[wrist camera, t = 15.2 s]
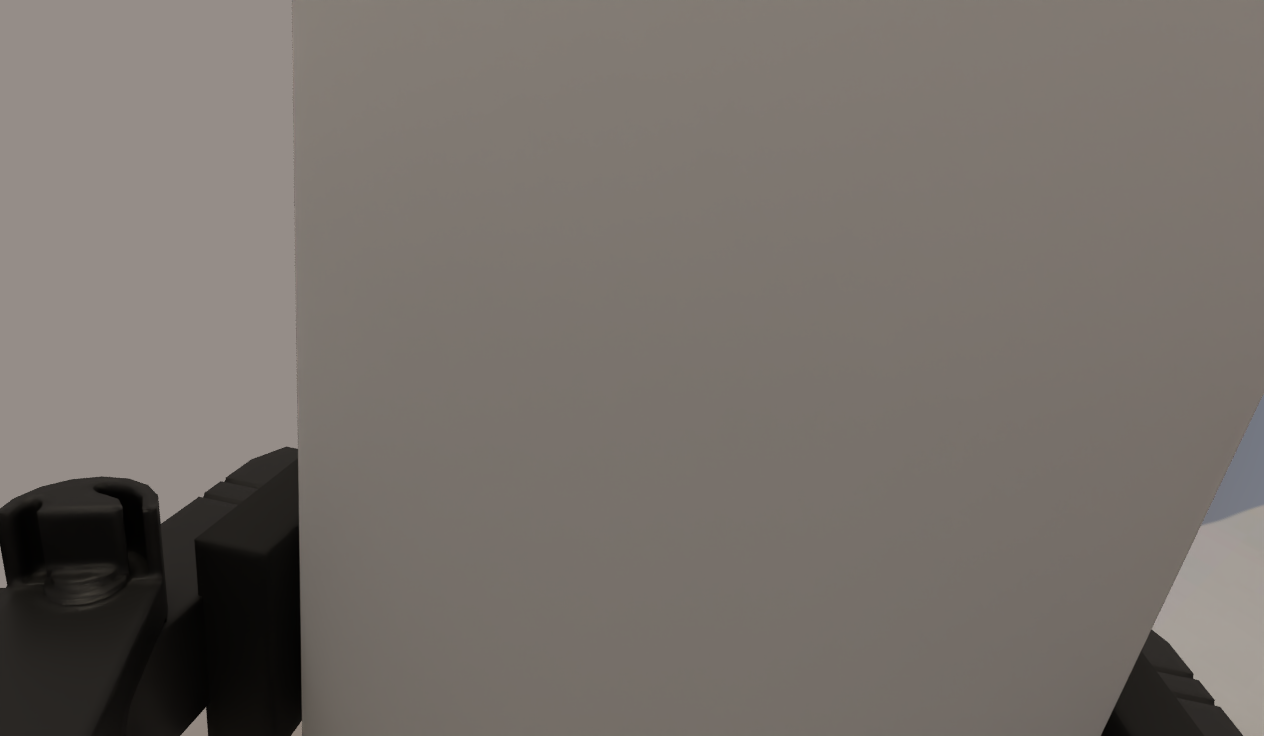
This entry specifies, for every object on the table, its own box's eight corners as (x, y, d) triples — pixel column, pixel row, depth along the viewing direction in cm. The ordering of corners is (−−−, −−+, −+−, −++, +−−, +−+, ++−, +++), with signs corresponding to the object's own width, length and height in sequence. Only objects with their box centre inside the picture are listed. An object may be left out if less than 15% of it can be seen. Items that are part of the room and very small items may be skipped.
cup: (968, 1279, 10) (1722, 8, 5) (323, 1769, 7) (317, -951, 1) (690, 779, 17) (864, 26, 12) (300, 893, 14) (284, -107, 8)
